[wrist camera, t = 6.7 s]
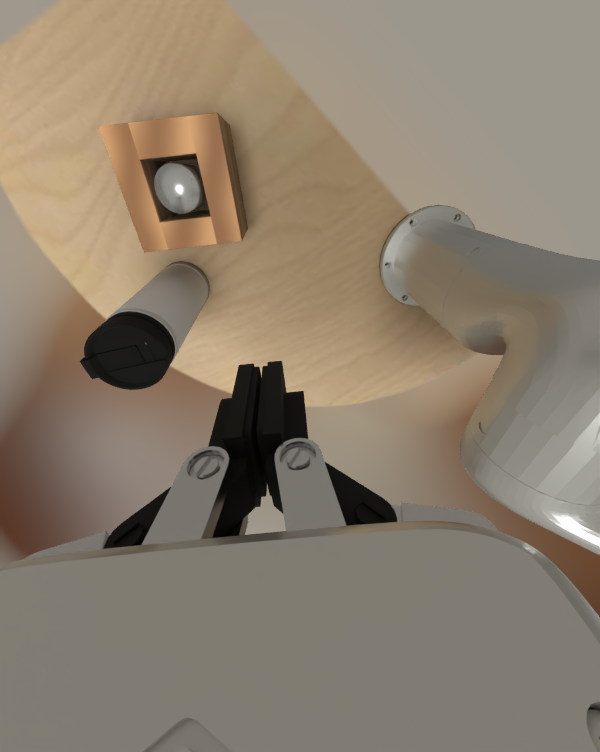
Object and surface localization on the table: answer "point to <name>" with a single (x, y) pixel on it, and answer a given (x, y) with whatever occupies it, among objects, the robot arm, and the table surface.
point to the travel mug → (147, 329)
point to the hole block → (173, 143)
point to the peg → (180, 187)
